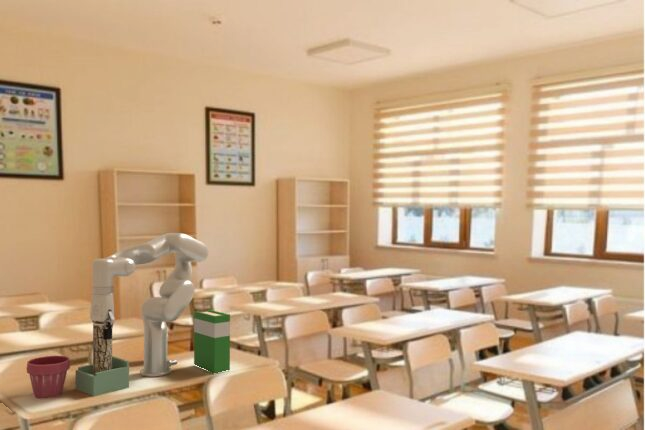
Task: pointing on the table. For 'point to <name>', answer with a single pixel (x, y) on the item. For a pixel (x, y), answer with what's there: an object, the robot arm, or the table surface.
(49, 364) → the plant pot
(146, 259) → the robot arm
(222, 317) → the green cereal box
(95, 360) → the wooden log
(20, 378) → the table surface
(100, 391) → the open box
